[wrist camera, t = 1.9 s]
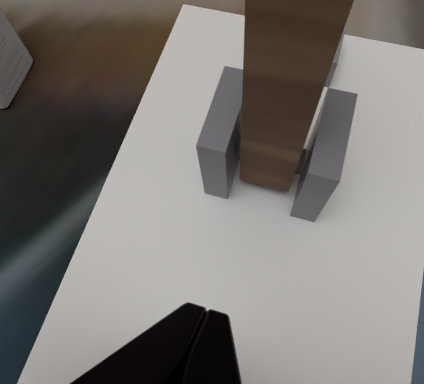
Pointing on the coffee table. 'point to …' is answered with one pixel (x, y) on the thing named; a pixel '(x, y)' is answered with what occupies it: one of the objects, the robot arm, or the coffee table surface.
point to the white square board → (256, 222)
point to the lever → (284, 82)
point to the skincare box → (11, 62)
